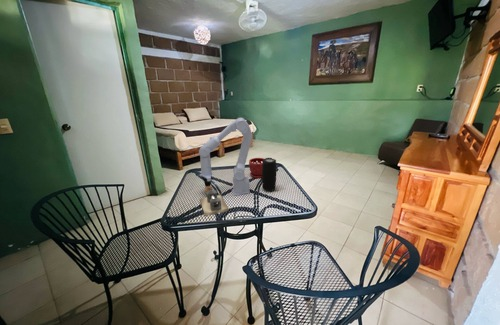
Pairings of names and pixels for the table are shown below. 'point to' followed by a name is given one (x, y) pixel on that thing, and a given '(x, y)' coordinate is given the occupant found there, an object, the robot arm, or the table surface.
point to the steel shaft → (209, 188)
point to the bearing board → (213, 208)
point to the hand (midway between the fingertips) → (207, 187)
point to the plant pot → (256, 167)
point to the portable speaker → (269, 174)
